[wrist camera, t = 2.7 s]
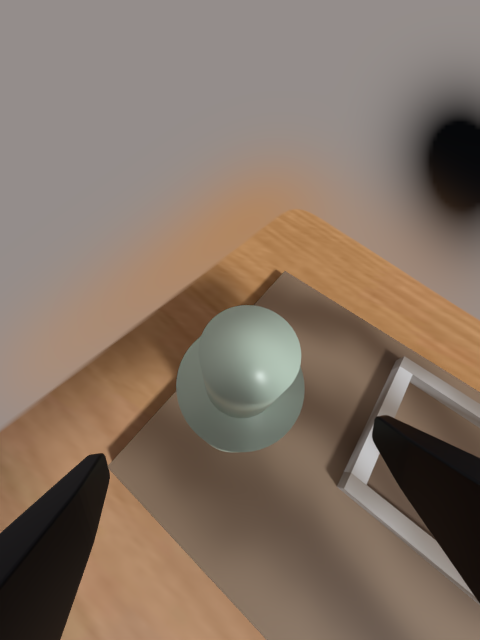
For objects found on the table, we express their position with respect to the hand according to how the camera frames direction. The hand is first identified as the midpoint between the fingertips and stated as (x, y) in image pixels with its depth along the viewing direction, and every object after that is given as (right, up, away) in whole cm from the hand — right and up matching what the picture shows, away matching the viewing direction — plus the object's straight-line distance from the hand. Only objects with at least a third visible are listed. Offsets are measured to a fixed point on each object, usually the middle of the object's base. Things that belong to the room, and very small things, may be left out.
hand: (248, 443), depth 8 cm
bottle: (-1, -2, +9) cm, 9 cm away
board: (+7, -5, +9) cm, 13 cm away
